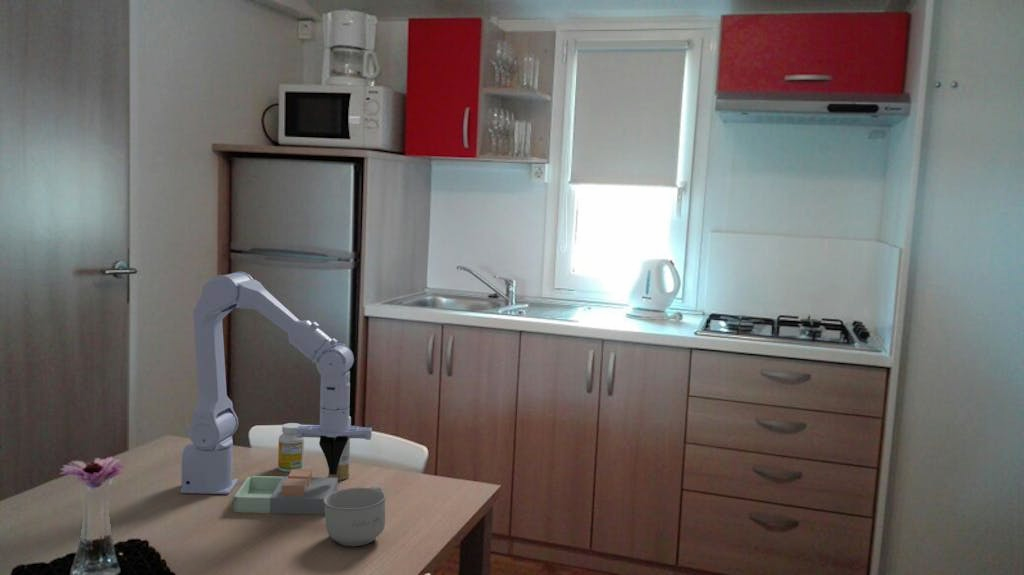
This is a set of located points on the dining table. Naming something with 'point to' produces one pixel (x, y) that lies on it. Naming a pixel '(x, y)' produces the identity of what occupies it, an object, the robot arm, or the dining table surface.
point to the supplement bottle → (290, 449)
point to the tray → (255, 494)
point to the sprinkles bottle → (343, 462)
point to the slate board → (304, 497)
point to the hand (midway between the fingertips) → (333, 473)
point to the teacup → (355, 515)
